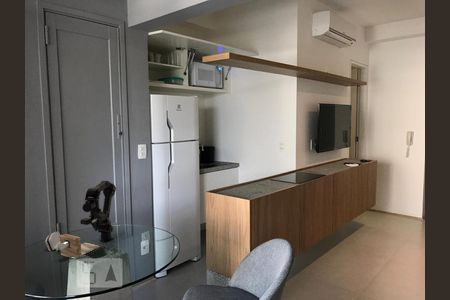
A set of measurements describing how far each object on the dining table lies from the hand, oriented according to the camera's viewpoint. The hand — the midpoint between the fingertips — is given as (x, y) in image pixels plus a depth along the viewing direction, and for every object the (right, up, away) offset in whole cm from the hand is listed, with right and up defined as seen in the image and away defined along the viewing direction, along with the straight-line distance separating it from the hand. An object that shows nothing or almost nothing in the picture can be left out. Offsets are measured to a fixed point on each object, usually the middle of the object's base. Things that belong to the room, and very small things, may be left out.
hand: (96, 230), depth 216 cm
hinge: (-30, -12, +7) cm, 33 cm away
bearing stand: (-9, -13, -3) cm, 16 cm away
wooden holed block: (-13, -8, -11) cm, 19 cm away
